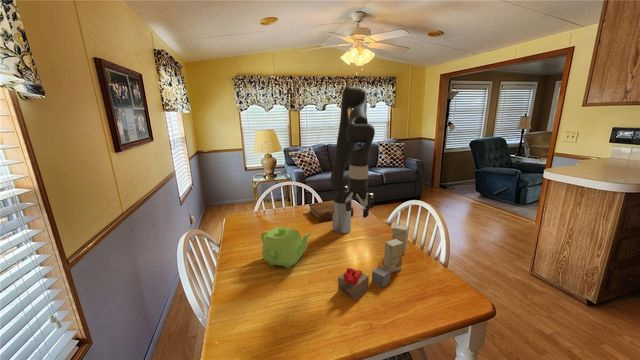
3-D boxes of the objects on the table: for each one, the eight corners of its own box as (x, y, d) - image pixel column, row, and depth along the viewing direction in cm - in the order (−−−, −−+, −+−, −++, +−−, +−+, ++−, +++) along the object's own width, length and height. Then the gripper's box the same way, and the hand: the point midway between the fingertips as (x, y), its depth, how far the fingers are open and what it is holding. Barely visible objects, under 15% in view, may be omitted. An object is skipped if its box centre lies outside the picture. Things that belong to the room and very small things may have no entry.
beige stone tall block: (391, 251, 126) (392, 227, 123) (393, 247, 130) (394, 223, 127) (404, 254, 123) (406, 230, 120) (406, 250, 127) (408, 226, 124)
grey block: (371, 282, 105) (372, 271, 103) (378, 276, 108) (379, 265, 107) (383, 288, 101) (383, 276, 100) (389, 281, 105) (390, 270, 103)
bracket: (357, 284, 95) (357, 276, 94) (344, 281, 96) (343, 274, 96) (361, 274, 100) (361, 266, 100) (349, 271, 102) (349, 264, 101)
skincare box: (390, 273, 110) (391, 246, 106) (383, 268, 113) (384, 242, 110) (402, 269, 112) (403, 242, 109) (394, 263, 116) (396, 238, 113)
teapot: (245, 273, 113) (242, 238, 109) (271, 248, 132) (269, 218, 128) (300, 284, 104) (298, 248, 100) (319, 256, 124) (318, 224, 120)
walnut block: (338, 291, 100) (338, 277, 99) (351, 281, 106) (351, 267, 104) (355, 301, 95) (355, 286, 93) (368, 290, 101) (368, 276, 99)
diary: (319, 223, 161) (319, 214, 160) (309, 212, 178) (308, 204, 176) (353, 216, 169) (353, 207, 168) (340, 206, 186) (340, 199, 184)
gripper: (338, 174, 107) (337, 211, 112) (367, 181, 98) (365, 222, 102) (350, 170, 113) (349, 206, 117) (379, 177, 103) (376, 216, 108)
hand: (356, 213), depth 110 cm, fingers open, 8 cm apart
